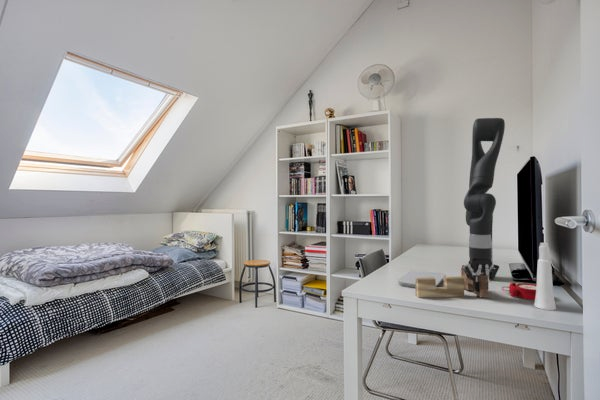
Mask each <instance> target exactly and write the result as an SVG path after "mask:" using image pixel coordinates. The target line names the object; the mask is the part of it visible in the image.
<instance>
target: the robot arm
mask: <svg viewBox="0 0 600 400" xmlns="http://www.w3.org/2000/svg"><path fill="white" fill-rule="evenodd" d="M505 128H506V123H505V119H504V118H502V117H483V118H476V119H475V120H474V122H473V125H472V132H471V133H472V135H471V137H472V138H471V139H472V142H471V145H472V146H471V147H472V148H471V161H470V170H469V183H468V184H469V185H468V190H467V193H466V194H465V197H464V199H463V206H464V208H465V210H466V211H465V224H466V225H467V226H469V237H468V255H469V261H468V263H467V264H463V265H461V268H463V270H464V272H465V274H466V276H467V278H468V279H470V280H472V281H473V289H474V290H475V291H476V292H479V276H480V274H481V273H482V274H484V275H487V276H488V283H489V282H490V281H494V280H495V278H496V276H497V274H498V271H499V270H500V265H497V264H496V263H494V261H493V257H494V255H493V222H494V221H493V220H494V211H495V208H496V206H497V205H496V204H497V200H496V197H495V196H494V195H493V194H491V193H488V192H489V190H490V189H492V187H493V184H494V178H495V171H496V165H497V162H498V161H497V160H498V158H499V155H500V152H501V146H502V144H503V139H504V135H505ZM482 142H492V144H491V146H490V147H489V149H488V150H487V152H485V151H484V148H483V146H482ZM471 269H472V273H471V271H470V270H471ZM476 272H477V273H476ZM472 274H473V275H472ZM474 290H473V291H474ZM488 290H489V285H488Z"/></svg>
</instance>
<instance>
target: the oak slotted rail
mask: <svg viewBox="0 0 600 400" xmlns="http://www.w3.org/2000/svg"><path fill="white" fill-rule="evenodd" d="M442 281H443V286H442V287H439V286H437V287H436V279H435V278H433V277H426V278H415V287H416V288H415V296H416V297H417V298H418V299H420V298H423V299H424V298H446V297H447V298H449V297H454V298H455V297H465V288H464V278H463V277H461V275H460V276H445V277H443V280H442Z"/></svg>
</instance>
